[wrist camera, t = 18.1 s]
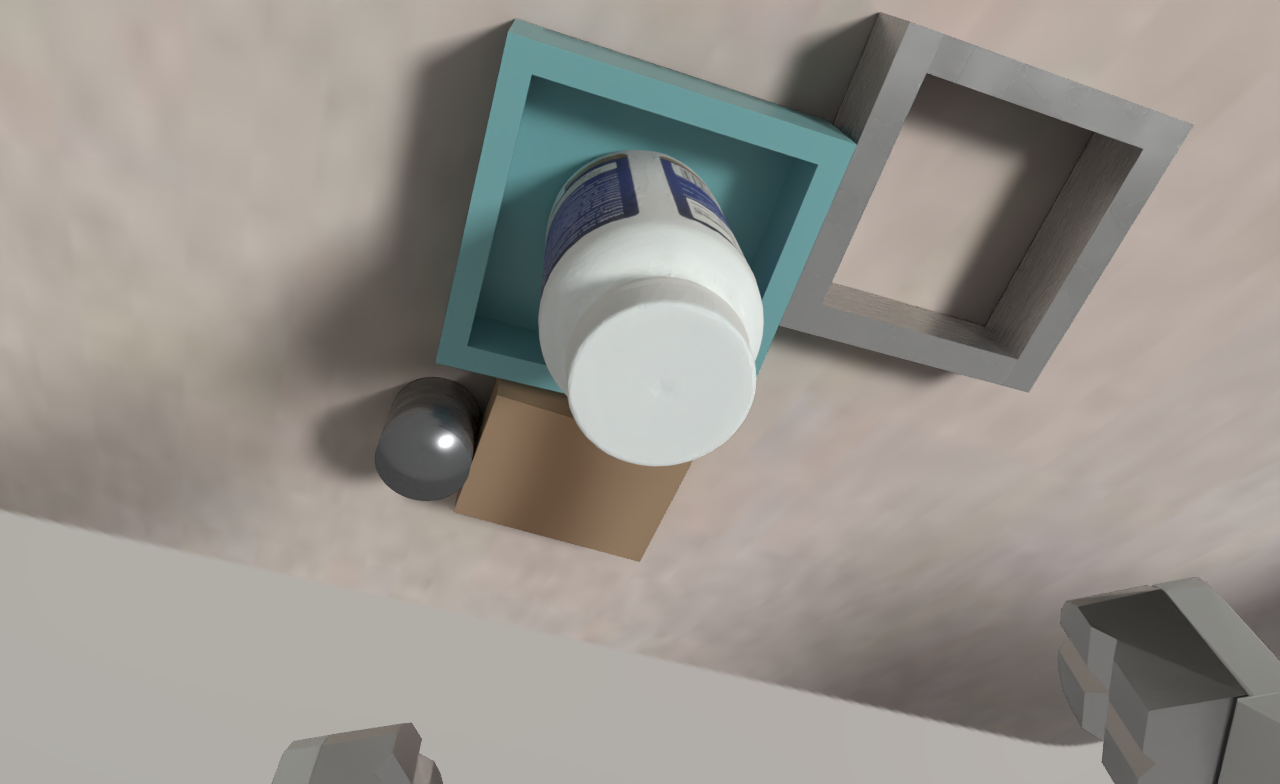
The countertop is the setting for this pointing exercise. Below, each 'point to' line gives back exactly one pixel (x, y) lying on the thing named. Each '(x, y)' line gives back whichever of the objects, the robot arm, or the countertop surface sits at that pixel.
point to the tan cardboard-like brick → (560, 477)
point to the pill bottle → (648, 310)
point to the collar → (1061, 251)
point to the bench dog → (428, 439)
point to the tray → (611, 122)
